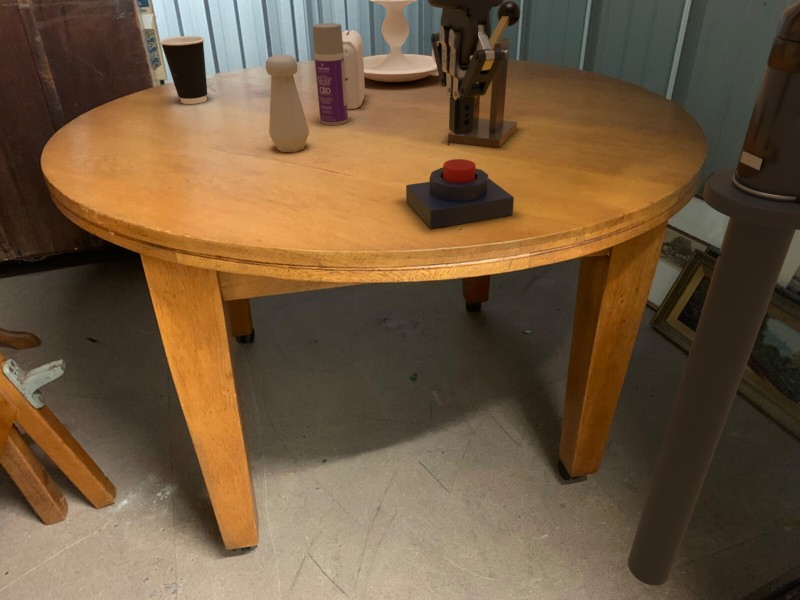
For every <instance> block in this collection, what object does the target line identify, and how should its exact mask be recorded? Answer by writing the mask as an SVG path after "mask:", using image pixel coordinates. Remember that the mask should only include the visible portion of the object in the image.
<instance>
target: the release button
mask: <svg viewBox="0 0 800 600" xmlns="http://www.w3.org/2000/svg"><path fill="white" fill-rule="evenodd" d="M442 165H443V166H442V168H443V180H446V181H449V182H453V183H464V182H471V181H473V180H475V168H477V167H476V166H477V165H476V163H475V162H474V161H472V160H471V159H463V158H454V159H448V160H446V161H445V162H444V163H443V164H442Z"/></svg>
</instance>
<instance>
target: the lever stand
mask: <svg viewBox="0 0 800 600" xmlns="http://www.w3.org/2000/svg"><path fill="white" fill-rule="evenodd" d="M498 48H500V49H501V51H502V59H501V62H500V64H499V66H498V68H497V70H496V72H495V74H494V76H493V79H492V81H491V92H490V108H489V109H490V110H489V118H482V117H480V103H481V100H480V99H481V96H477V98H474V113H473V130H472V132H471V133H469V134H461V135H456V134H455V133H453V132H452V131H450V132H449V133H448V135H447V143H453V144H461V145H471V146H479V147H489V148H495V149H496V148H497V149H500V148H501V147H502V146H503V145H504V144H505V142H506V141H507V140H508V139H509V138H510V137H511V136H512V135H513V134H514V133H515V132H516V131H517V128H518V121H514V120H513V121H511V120H505V104H506V91H507V79H508V78H507V77H508V62H509V57H510V50H509V49H510V38H504V37H503V38H501V39H500V40H499V41H498V42H496V43H494V49H498Z"/></svg>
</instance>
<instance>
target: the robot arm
mask: <svg viewBox="0 0 800 600" xmlns="http://www.w3.org/2000/svg"><path fill="white" fill-rule="evenodd" d="M503 2H505V0H427V3H428V4H429V5H430V6H431V7H434V8H439V9H441V10H442V11H441V16H440V27H439V32H436V33H435V32H434V33H431V35H430V42H431V43H430V44H431V46H432V49H433V52H434V56H435V60H436V65H437V72H438V74H439V76H438V79H439V81H440V85H441V87H446V89H445V91H446V95H447V96H448V97H449V111H448V112H449V113H448V115H449V117H448V129H449V131H450V132H453V133H455V134H456V135H461V134H469V133H471V132H472V130H473V113H474V98H477V96H480V97H481V96H485V95H486V93H487V91H488V90H489V87H490V85H491V84H492V79H493V76H494V74H495V72H496V70H497V68H498V66H499V64H500V62H501V59H502V51H501V49H500V48H498V49H492V47H491V44H490V42H489V41H490V38H491V36H492V24H491V17H490V16H491V15H490V12H491V10H492V8H495V7H496V8H497V7H499V6H500V5H501V4H502V3H503ZM772 40H773V41H772V44H771V48H770V51H769V55H768V58H767V61H766V65H765V68H764V72H763V75H762V79H761V81H760V85H759V89H758V92H757V95H756V99H755V102H754V106H753V109H752V113H751V116H750V120H749V123H748V126H747V130H746V134H745V136H744V139H743V140H744V141H743V143H742V147H741V150H740V154H739V157H738V162H737V164H736V166H735V167H736V172H735V174H734V175H733V179H732V185H733V186H734V187H735V188H736V189H738V190H739V191H741V192H743V193H745V194H748V195H751V196H754V197H757V198H761V199H765V200H771V201H778V202H791V203H797V204H800V0H798V1H796V2H795V3H793V4H791V5H789V6H787V7H786V8H785V9H784V10H783V12H782V13H781V15H780V18H779V20H778V24H777V27H776V31H775V35H774V37H773V39H772Z"/></svg>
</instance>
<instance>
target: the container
mask: <svg viewBox="0 0 800 600" xmlns="http://www.w3.org/2000/svg"><path fill="white" fill-rule="evenodd" d="M342 32H343V31H342V24H341V23H335V22H323V23H316V24H313V25H312V36H313V37H312V38H313V52H314V64H315V75H316V78H315V79H316V87H317V99H318V100H317V101H318V108H319V109H318V110H319V120H320V123H321V124H322V125H326V126H340V125H345V124H347V123H348V122H349V113H348V109H347V96H346V80H345V65H344V52H343V41H342Z"/></svg>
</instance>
